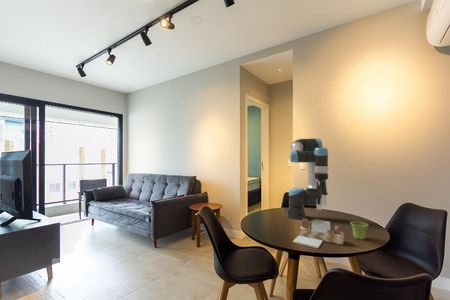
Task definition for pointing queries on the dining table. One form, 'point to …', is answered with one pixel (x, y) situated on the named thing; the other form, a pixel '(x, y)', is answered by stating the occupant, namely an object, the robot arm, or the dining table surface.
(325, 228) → the lever cap
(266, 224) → the dining table surface
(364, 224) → the plant pot
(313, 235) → the hand plane
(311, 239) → the rubber mat
